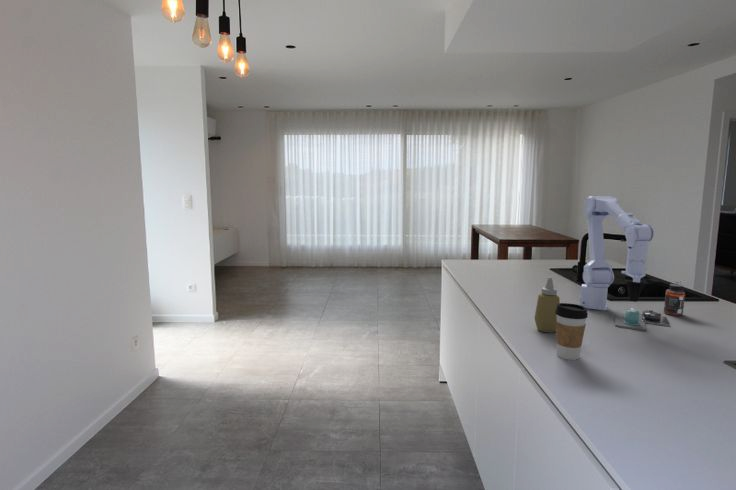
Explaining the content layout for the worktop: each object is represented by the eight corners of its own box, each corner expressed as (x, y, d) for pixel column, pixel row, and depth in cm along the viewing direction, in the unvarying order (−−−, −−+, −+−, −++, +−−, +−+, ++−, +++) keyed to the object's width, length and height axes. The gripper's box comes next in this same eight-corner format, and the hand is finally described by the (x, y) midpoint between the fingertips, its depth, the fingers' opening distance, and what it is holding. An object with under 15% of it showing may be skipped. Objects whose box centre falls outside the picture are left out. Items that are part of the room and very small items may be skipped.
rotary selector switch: (635, 321, 154) (636, 313, 153) (634, 314, 162) (634, 306, 162) (669, 326, 149) (670, 318, 148) (665, 318, 158) (666, 310, 157)
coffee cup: (546, 350, 127) (550, 301, 125) (573, 349, 128) (577, 301, 126) (561, 362, 119) (565, 310, 117) (590, 361, 120) (595, 309, 118)
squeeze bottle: (558, 327, 147) (562, 276, 145) (560, 335, 140) (564, 281, 137) (533, 324, 150) (536, 274, 147) (534, 332, 142) (537, 279, 140)
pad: (615, 326, 149) (615, 324, 148) (614, 319, 156) (615, 317, 156) (646, 331, 144) (646, 329, 144) (644, 323, 152) (644, 321, 152)
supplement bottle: (685, 317, 159) (688, 287, 157) (666, 315, 161) (669, 286, 159) (679, 312, 165) (683, 283, 163) (661, 310, 167) (664, 282, 165)
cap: (621, 320, 153) (623, 306, 152) (637, 321, 152) (638, 308, 151) (625, 324, 148) (627, 310, 148) (641, 326, 147) (643, 312, 146)
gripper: (621, 255, 155) (618, 292, 157) (624, 262, 142) (620, 301, 144) (644, 257, 152) (640, 294, 154) (649, 264, 139) (645, 304, 141)
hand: (632, 298), depth 149 cm, fingers open, 7 cm apart
